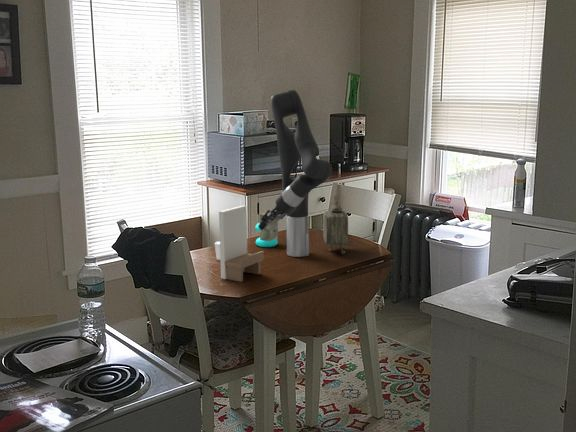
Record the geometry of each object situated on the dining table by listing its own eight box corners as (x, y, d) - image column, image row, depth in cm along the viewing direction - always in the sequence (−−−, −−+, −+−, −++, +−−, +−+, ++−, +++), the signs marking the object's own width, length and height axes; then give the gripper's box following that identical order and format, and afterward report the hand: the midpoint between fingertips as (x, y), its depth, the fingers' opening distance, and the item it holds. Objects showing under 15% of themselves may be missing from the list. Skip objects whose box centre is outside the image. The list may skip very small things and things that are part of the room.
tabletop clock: (347, 255, 271) (348, 198, 266) (326, 256, 270) (327, 198, 265) (342, 246, 285) (343, 192, 280) (322, 247, 284) (323, 192, 279)
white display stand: (264, 273, 246) (263, 208, 241) (241, 282, 235) (240, 214, 229) (243, 269, 251) (242, 205, 246) (221, 278, 240) (218, 211, 235)
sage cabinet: (280, 238, 243) (279, 213, 241) (271, 241, 238) (271, 215, 236) (268, 236, 246) (267, 211, 244) (259, 239, 241) (259, 214, 239)
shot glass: (224, 261, 263) (224, 245, 262) (211, 259, 267) (211, 243, 265) (234, 257, 269) (234, 241, 267) (221, 255, 272) (221, 239, 271)
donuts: (271, 220, 294) (281, 224, 285) (271, 241, 296) (281, 246, 287) (251, 223, 289) (261, 227, 281) (252, 244, 291) (262, 248, 283)
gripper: (294, 188, 240) (269, 215, 249) (273, 193, 228) (247, 222, 237) (306, 203, 238) (280, 230, 247) (286, 209, 227) (259, 237, 235)
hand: (264, 226), depth 242 cm, fingers closed on sage cabinet, 5 cm apart
